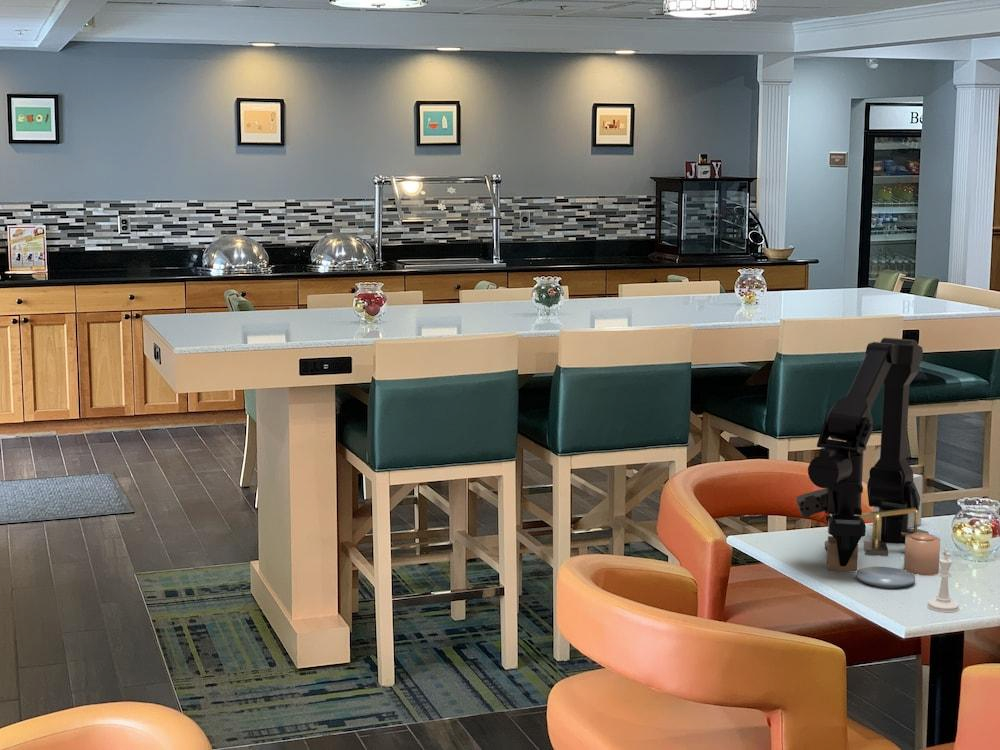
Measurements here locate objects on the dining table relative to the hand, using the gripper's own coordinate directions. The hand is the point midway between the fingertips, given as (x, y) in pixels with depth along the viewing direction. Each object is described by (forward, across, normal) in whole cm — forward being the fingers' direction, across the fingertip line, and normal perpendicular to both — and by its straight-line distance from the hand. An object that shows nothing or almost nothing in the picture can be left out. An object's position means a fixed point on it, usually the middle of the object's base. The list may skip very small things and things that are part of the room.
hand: (842, 561), depth 236 cm
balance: (+1, -12, +7) cm, 14 cm away
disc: (+1, +7, +7) cm, 10 cm away
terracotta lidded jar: (+1, -1, +14) cm, 14 cm away
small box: (+1, -34, +13) cm, 36 cm away
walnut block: (+1, 0, 0) cm, 1 cm away
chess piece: (+1, +20, +15) cm, 25 cm away
